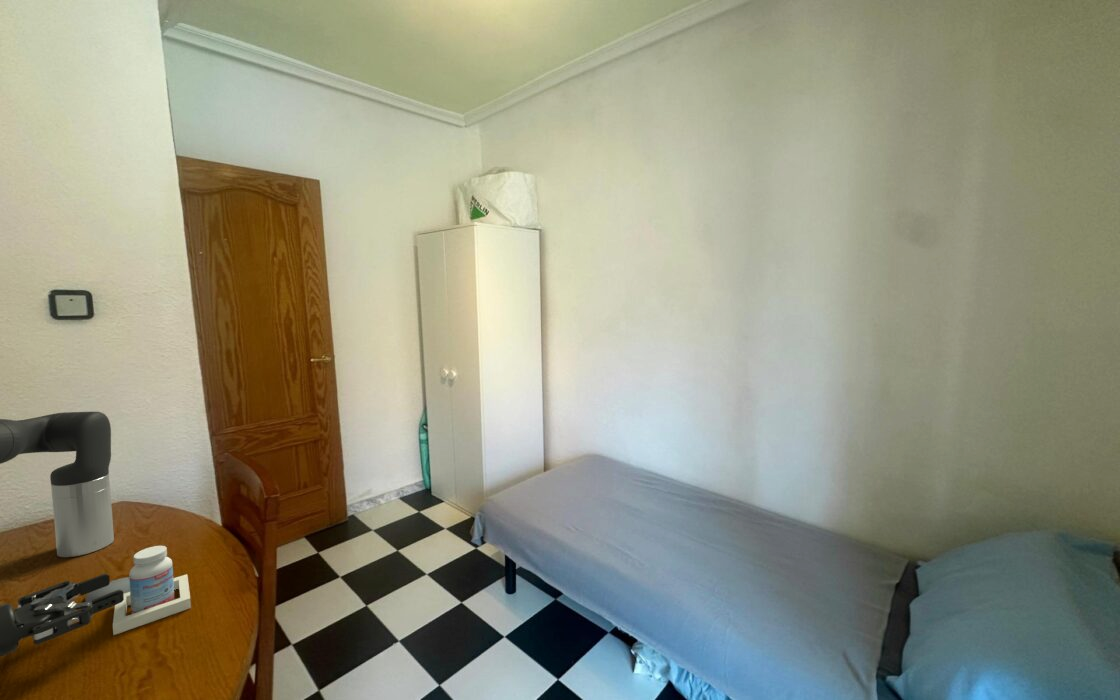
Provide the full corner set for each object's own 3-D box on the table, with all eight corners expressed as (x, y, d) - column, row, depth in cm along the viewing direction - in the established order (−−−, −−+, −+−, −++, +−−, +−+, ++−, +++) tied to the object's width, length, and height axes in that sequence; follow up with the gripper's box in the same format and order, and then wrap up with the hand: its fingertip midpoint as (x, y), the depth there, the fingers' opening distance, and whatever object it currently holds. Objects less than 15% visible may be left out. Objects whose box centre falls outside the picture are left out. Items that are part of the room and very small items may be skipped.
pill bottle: (148, 620, 79) (144, 562, 78) (123, 615, 80) (118, 558, 79) (183, 599, 85) (179, 545, 84) (159, 594, 86) (155, 541, 85)
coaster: (87, 590, 87) (87, 588, 87) (142, 574, 92) (142, 572, 92) (83, 610, 81) (82, 607, 81) (141, 592, 87) (141, 589, 87)
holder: (117, 605, 83) (116, 596, 82) (187, 583, 90) (187, 574, 90) (113, 635, 75) (112, 624, 75) (190, 607, 82) (190, 598, 82)
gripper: (-33, 640, 60) (126, 580, 74) (-44, 603, 67) (102, 555, 81) (-27, 689, 61) (129, 620, 74) (-39, 647, 68) (106, 592, 82)
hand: (115, 586), depth 78 cm, fingers open, 8 cm apart
